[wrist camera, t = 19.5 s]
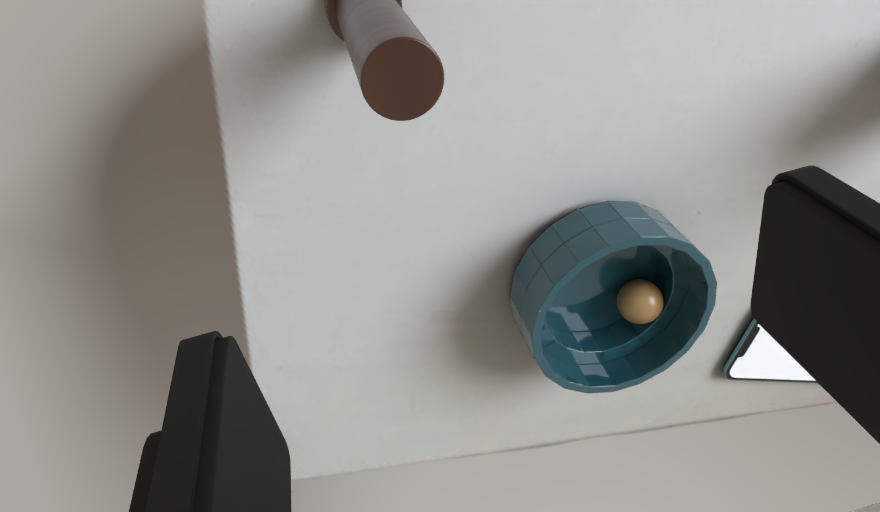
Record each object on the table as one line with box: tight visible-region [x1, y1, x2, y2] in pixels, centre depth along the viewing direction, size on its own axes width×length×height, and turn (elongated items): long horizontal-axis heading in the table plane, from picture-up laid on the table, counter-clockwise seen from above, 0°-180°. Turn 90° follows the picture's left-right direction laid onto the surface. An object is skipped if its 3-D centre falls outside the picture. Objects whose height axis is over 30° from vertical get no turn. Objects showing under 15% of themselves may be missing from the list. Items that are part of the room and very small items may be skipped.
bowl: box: [510, 201, 717, 393], centre depth 41 cm, size 12×12×5 cm
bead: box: [617, 279, 664, 324], centre depth 42 cm, size 3×3×3 cm
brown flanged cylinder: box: [326, 0, 444, 121], centre depth 26 cm, size 4×4×12 cm
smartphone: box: [723, 318, 818, 383], centre depth 52 cm, size 8×1×16 cm
